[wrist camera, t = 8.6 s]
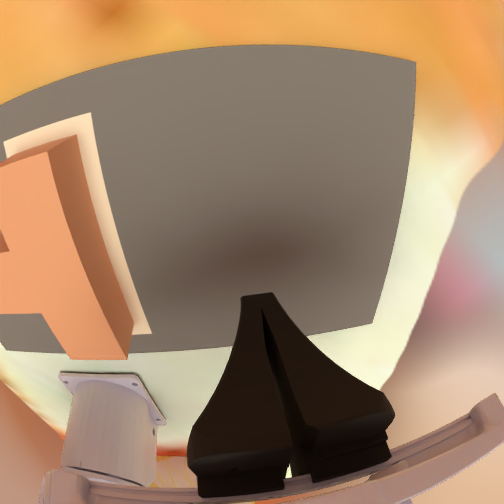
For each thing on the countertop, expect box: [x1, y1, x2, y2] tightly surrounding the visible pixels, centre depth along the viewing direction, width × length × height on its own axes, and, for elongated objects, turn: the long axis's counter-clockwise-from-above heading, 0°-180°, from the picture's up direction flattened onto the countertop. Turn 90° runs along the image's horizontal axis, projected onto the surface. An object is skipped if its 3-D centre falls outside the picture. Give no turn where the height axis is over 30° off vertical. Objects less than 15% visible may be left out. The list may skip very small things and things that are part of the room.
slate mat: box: [0, 45, 416, 353], centre depth 15 cm, size 18×31×1 cm, turn 92°
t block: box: [0, 134, 134, 360], centre depth 13 cm, size 12×12×3 cm
